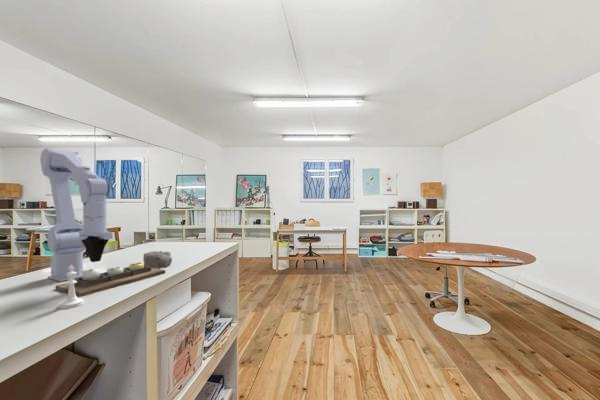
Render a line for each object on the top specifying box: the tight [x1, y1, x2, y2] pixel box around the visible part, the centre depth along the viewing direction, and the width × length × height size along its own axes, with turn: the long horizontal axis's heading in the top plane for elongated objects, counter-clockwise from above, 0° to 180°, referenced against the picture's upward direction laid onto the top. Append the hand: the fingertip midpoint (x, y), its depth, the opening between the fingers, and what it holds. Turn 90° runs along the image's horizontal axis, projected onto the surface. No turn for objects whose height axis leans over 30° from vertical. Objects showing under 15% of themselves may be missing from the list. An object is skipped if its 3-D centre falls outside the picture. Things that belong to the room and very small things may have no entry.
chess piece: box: [58, 265, 85, 310], centre depth 69 cm, size 5×5×10 cm
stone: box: [143, 250, 173, 268], centre depth 108 cm, size 8×10×6 cm
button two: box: [106, 266, 124, 275], centre depth 89 cm, size 4×4×3 cm
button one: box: [81, 268, 101, 280], centre depth 83 cm, size 4×4×3 cm
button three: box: [128, 262, 144, 270], centre depth 95 cm, size 4×4×3 cm
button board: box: [55, 265, 166, 297], centre depth 89 cm, size 14×26×3 cm, turn 153°
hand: (95, 261), depth 84 cm, fingers closed
